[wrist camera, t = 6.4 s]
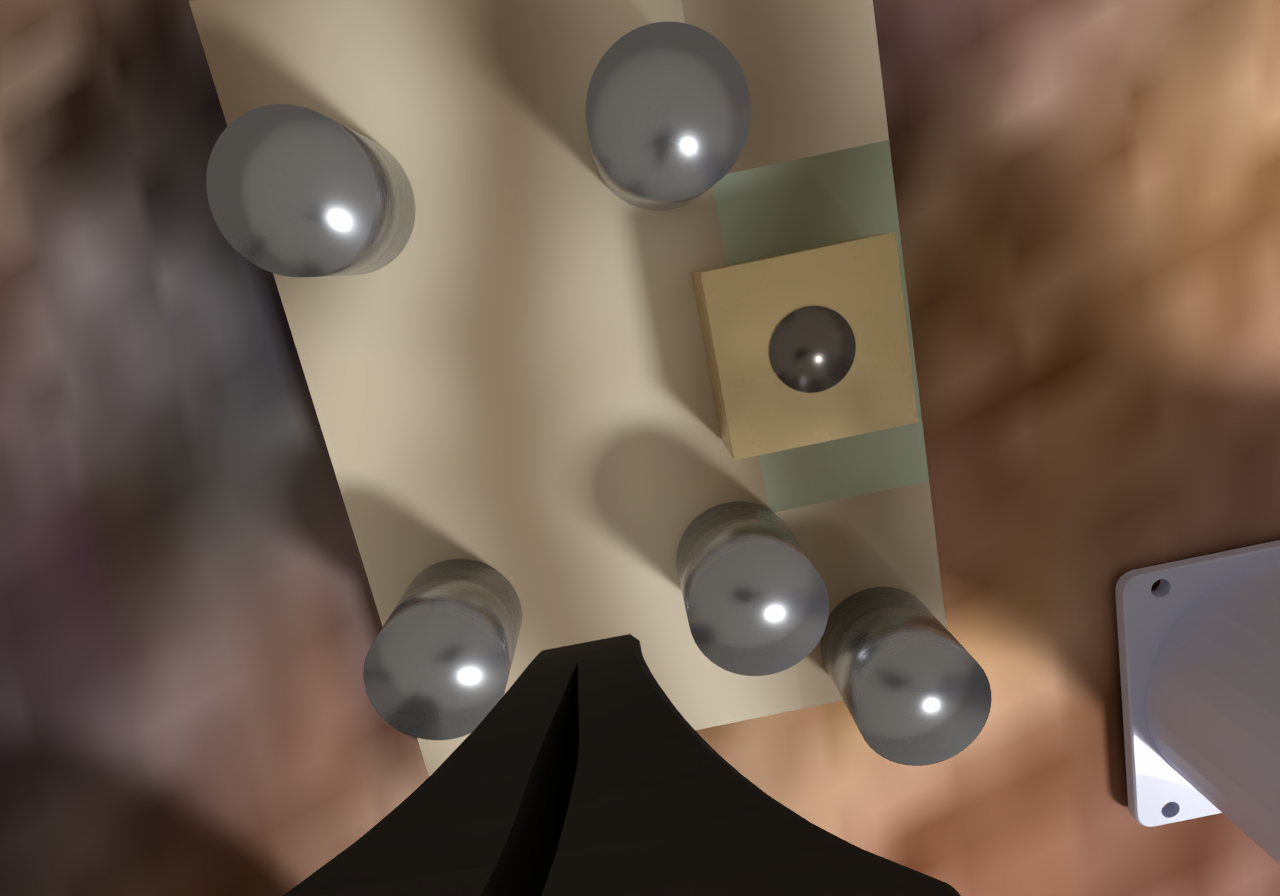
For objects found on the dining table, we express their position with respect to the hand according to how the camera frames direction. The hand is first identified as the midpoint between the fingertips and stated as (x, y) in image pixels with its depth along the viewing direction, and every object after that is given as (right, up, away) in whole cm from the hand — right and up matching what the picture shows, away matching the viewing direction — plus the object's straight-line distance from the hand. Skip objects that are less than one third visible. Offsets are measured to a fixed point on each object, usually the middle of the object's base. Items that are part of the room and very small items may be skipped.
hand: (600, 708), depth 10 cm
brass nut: (+4, +6, +8) cm, 10 cm away
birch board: (0, +5, +9) cm, 10 cm away
